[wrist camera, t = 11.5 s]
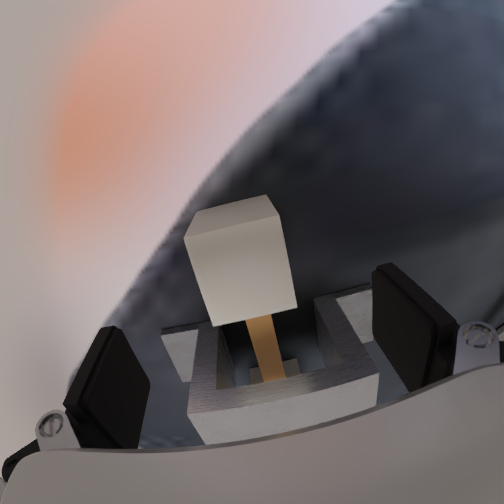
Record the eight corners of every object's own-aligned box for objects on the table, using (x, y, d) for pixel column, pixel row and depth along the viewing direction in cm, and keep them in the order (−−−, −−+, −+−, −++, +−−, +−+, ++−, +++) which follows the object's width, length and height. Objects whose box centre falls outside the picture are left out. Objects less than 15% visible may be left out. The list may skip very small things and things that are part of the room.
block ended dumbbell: (266, 194, 19) (279, 214, 14) (303, 381, 25) (317, 428, 19) (196, 211, 19) (183, 238, 14) (254, 392, 25) (259, 440, 20)
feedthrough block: (369, 283, 21) (427, 354, 13) (369, 334, 23) (414, 408, 15) (162, 329, 22) (136, 417, 14) (183, 375, 23) (171, 460, 15)
